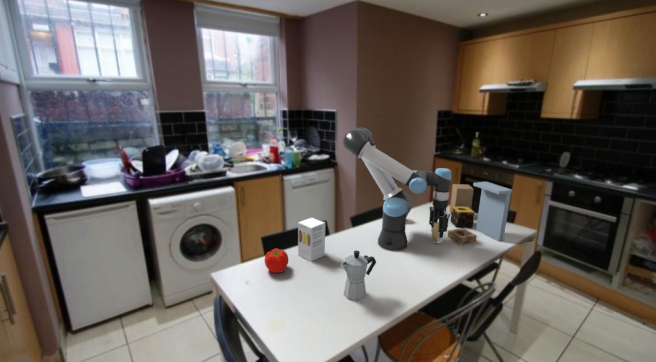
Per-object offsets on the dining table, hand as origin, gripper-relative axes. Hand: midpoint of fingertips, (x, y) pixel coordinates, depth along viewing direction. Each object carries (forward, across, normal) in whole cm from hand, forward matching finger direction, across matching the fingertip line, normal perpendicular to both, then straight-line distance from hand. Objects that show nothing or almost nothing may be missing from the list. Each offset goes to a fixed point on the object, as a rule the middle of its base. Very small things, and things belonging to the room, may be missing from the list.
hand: (436, 240), depth 168 cm
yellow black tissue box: (+1, +14, -29) cm, 32 cm away
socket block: (0, -3, -14) cm, 14 cm away
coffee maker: (0, -29, +59) cm, 66 cm away
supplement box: (0, +6, +67) cm, 67 cm away
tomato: (0, -2, +85) cm, 85 cm away
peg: (0, 0, 0) cm, 0 cm away
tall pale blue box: (0, -3, -30) cm, 30 cm away
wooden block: (+1, +26, -38) cm, 46 cm away
